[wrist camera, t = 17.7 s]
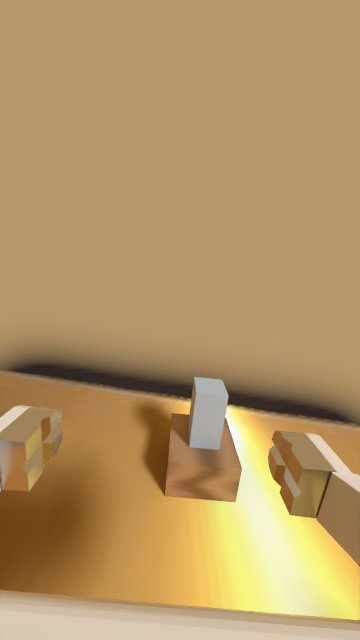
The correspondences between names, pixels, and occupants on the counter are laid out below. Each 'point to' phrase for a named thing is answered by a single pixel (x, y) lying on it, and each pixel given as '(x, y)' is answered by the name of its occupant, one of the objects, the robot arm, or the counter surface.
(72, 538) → the counter surface
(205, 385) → the slate block
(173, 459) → the walnut block
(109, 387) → the counter surface
